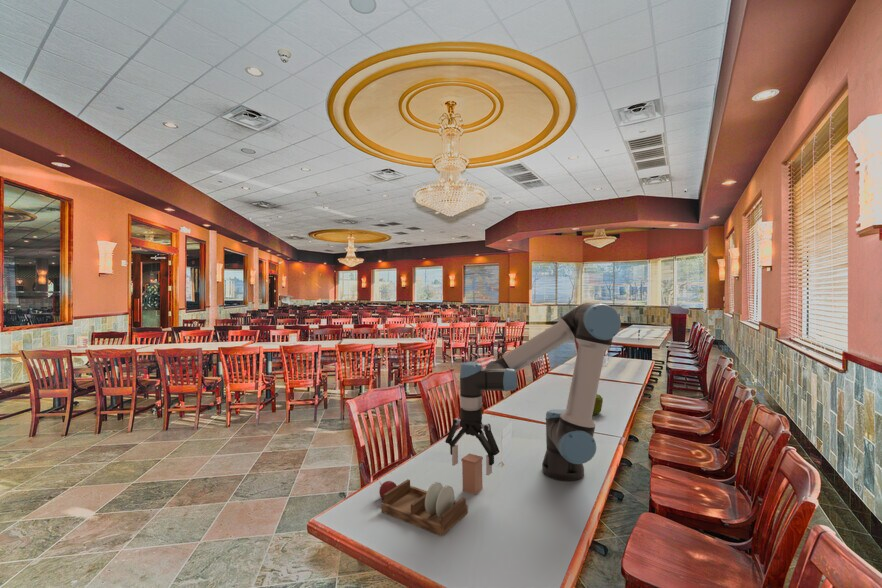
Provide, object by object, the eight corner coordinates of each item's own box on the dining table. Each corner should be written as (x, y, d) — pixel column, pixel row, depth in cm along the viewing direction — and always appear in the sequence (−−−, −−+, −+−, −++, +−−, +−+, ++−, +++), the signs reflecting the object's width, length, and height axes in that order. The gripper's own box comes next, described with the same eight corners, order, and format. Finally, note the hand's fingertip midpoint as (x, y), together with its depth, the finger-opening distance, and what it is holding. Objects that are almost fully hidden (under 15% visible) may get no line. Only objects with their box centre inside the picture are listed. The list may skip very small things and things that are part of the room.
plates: (454, 510, 119) (454, 481, 119) (437, 524, 112) (437, 493, 112) (442, 505, 122) (441, 477, 122) (424, 519, 114) (424, 489, 114)
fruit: (392, 498, 132) (383, 475, 135) (402, 494, 129) (393, 471, 132) (378, 506, 128) (370, 482, 130) (389, 502, 125) (380, 477, 127)
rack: (467, 512, 119) (467, 496, 119) (442, 536, 108) (441, 518, 108) (409, 492, 132) (409, 478, 132) (381, 511, 121) (381, 495, 121)
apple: (577, 409, 225) (577, 390, 225) (599, 410, 223) (599, 390, 223) (582, 416, 212) (581, 395, 213) (605, 416, 211) (605, 396, 211)
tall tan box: (483, 488, 135) (482, 456, 135) (475, 495, 130) (475, 462, 130) (469, 484, 138) (469, 453, 138) (461, 490, 133) (461, 458, 133)
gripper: (508, 410, 130) (509, 473, 130) (447, 399, 144) (447, 456, 144) (498, 416, 124) (499, 482, 124) (435, 404, 138) (436, 464, 138)
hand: (471, 469), depth 134 cm, fingers open, 13 cm apart
